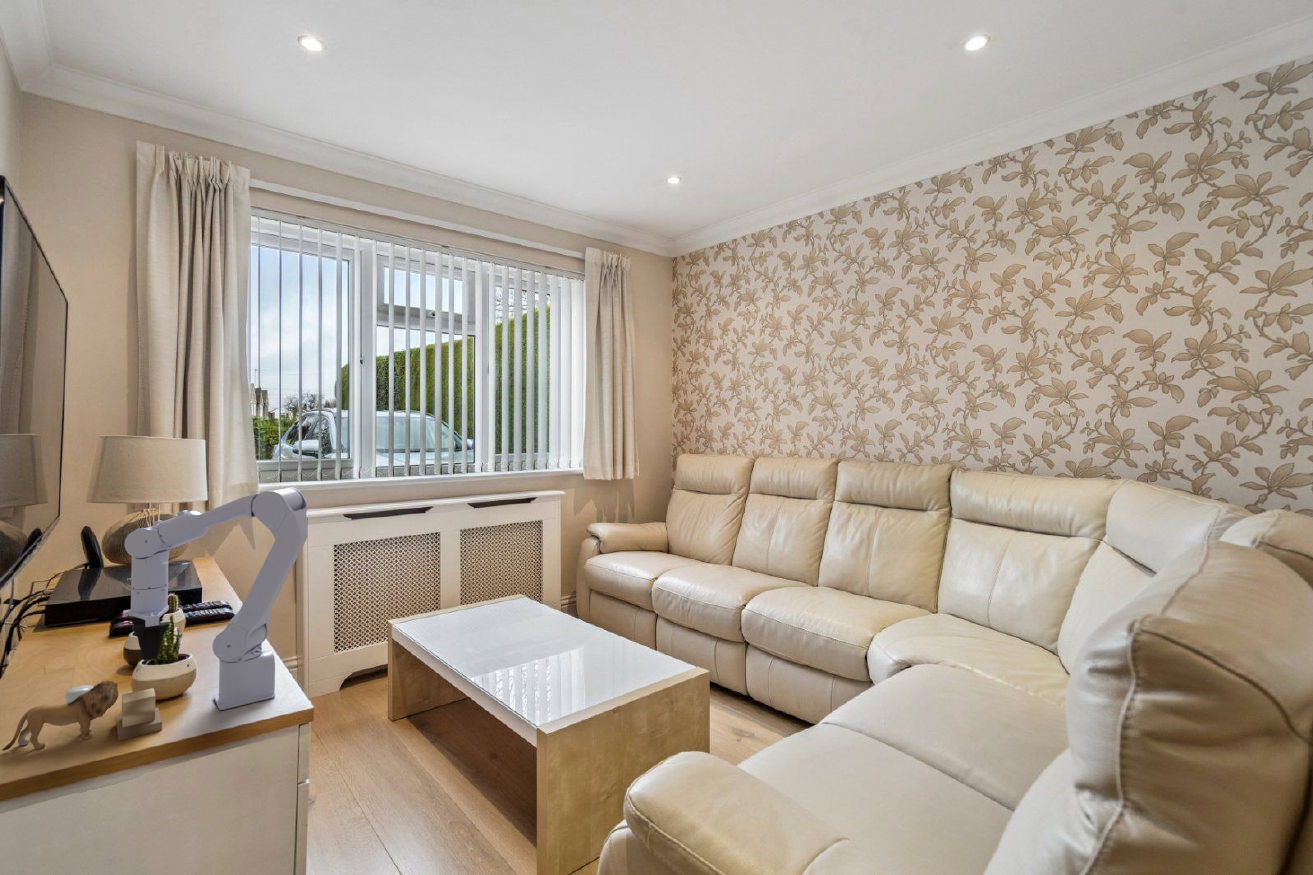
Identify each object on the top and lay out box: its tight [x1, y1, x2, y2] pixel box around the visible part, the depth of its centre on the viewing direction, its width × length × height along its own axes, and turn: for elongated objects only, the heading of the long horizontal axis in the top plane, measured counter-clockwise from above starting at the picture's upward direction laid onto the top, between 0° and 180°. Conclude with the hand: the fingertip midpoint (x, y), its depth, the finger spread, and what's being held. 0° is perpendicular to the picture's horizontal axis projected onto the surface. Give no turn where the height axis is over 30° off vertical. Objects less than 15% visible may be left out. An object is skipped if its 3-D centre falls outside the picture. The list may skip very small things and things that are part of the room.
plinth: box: [115, 706, 163, 741], centre depth 112 cm, size 6×8×2 cm
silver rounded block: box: [65, 684, 94, 704], centre depth 121 cm, size 4×4×3 cm
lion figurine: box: [1, 680, 119, 752], centre depth 107 cm, size 15×5×9 cm, turn 133°
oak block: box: [121, 687, 156, 727], centre depth 112 cm, size 4×4×4 cm
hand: (148, 653), depth 122 cm, fingers open, 7 cm apart
